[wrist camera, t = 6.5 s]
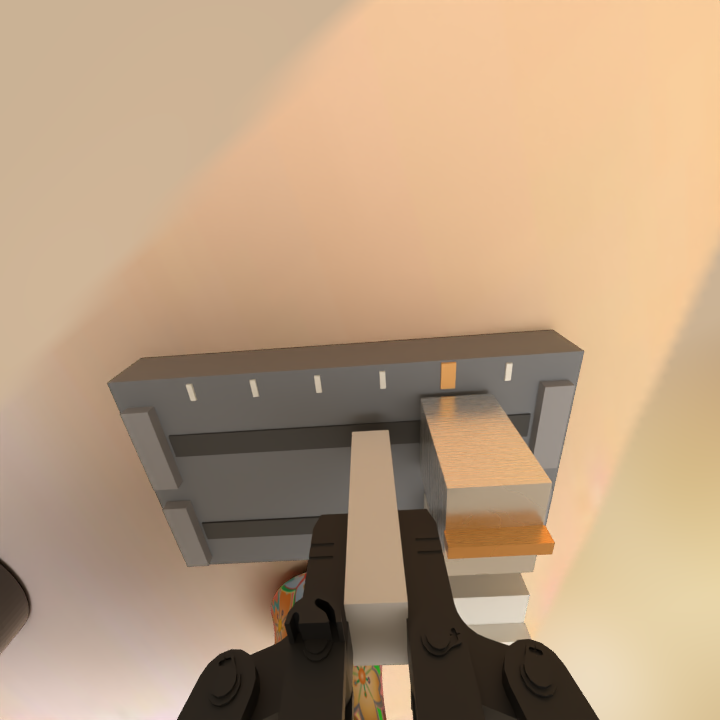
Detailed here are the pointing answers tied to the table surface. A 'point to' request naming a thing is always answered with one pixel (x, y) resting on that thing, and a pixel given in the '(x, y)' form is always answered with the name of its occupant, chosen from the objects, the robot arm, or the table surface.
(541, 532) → the fader
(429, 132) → the table surface
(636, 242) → the table surface
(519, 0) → the table surface
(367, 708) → the mug
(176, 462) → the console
